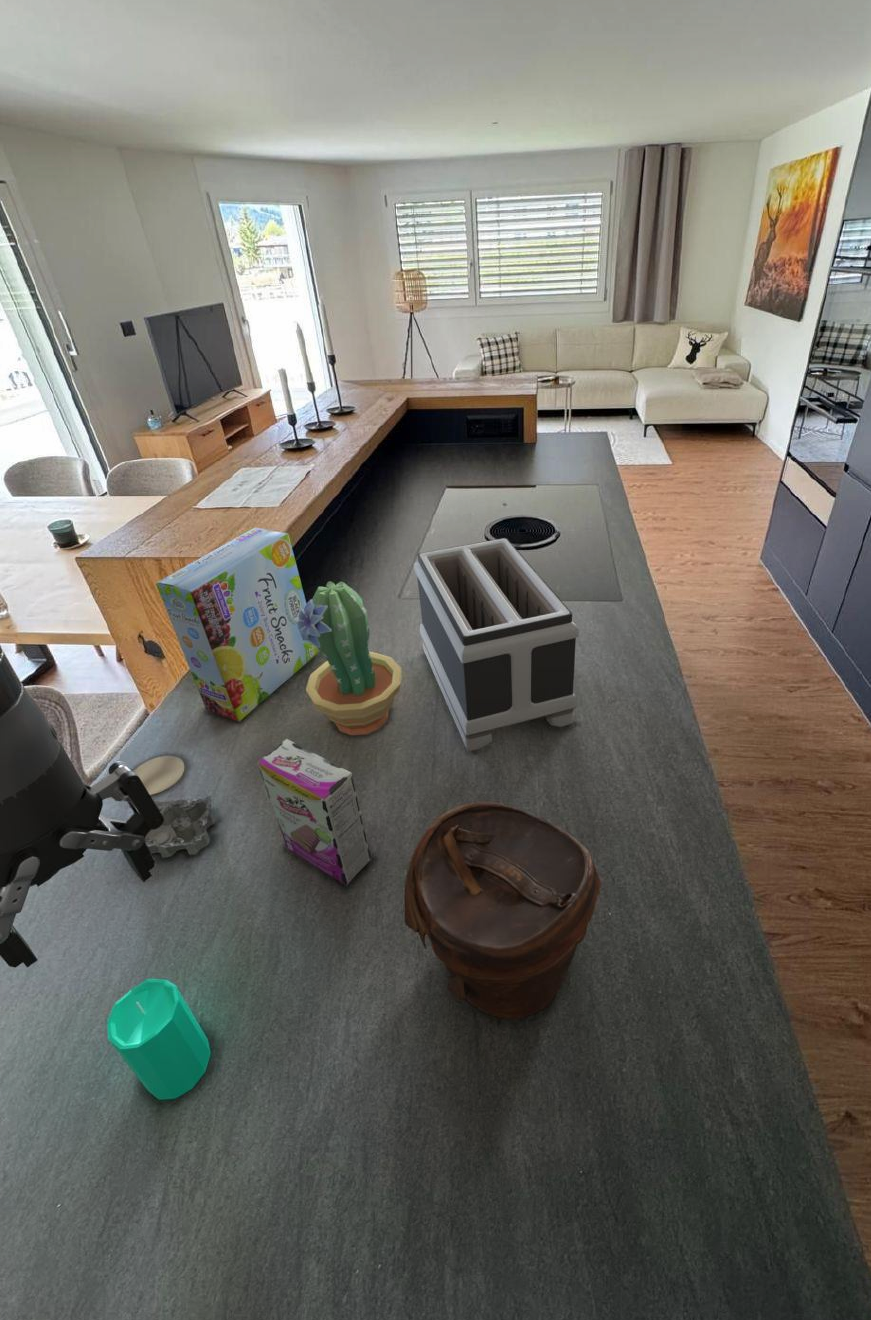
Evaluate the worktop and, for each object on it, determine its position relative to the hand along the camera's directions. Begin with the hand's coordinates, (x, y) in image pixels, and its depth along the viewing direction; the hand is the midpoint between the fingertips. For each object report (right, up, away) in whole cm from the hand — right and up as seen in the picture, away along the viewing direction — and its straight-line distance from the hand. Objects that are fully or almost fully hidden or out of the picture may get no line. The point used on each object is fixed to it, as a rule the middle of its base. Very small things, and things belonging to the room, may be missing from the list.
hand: (88, 913), depth 48 cm
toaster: (+31, +12, +63) cm, 71 cm away
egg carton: (-12, -7, +36) cm, 39 cm away
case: (+33, -15, +21) cm, 42 cm away
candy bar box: (+10, -8, +33) cm, 35 cm away
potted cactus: (+10, +6, +56) cm, 57 cm away
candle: (+1, -21, +13) cm, 25 cm away
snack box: (-10, +11, +65) cm, 67 cm away
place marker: (-19, -1, +46) cm, 50 cm away
